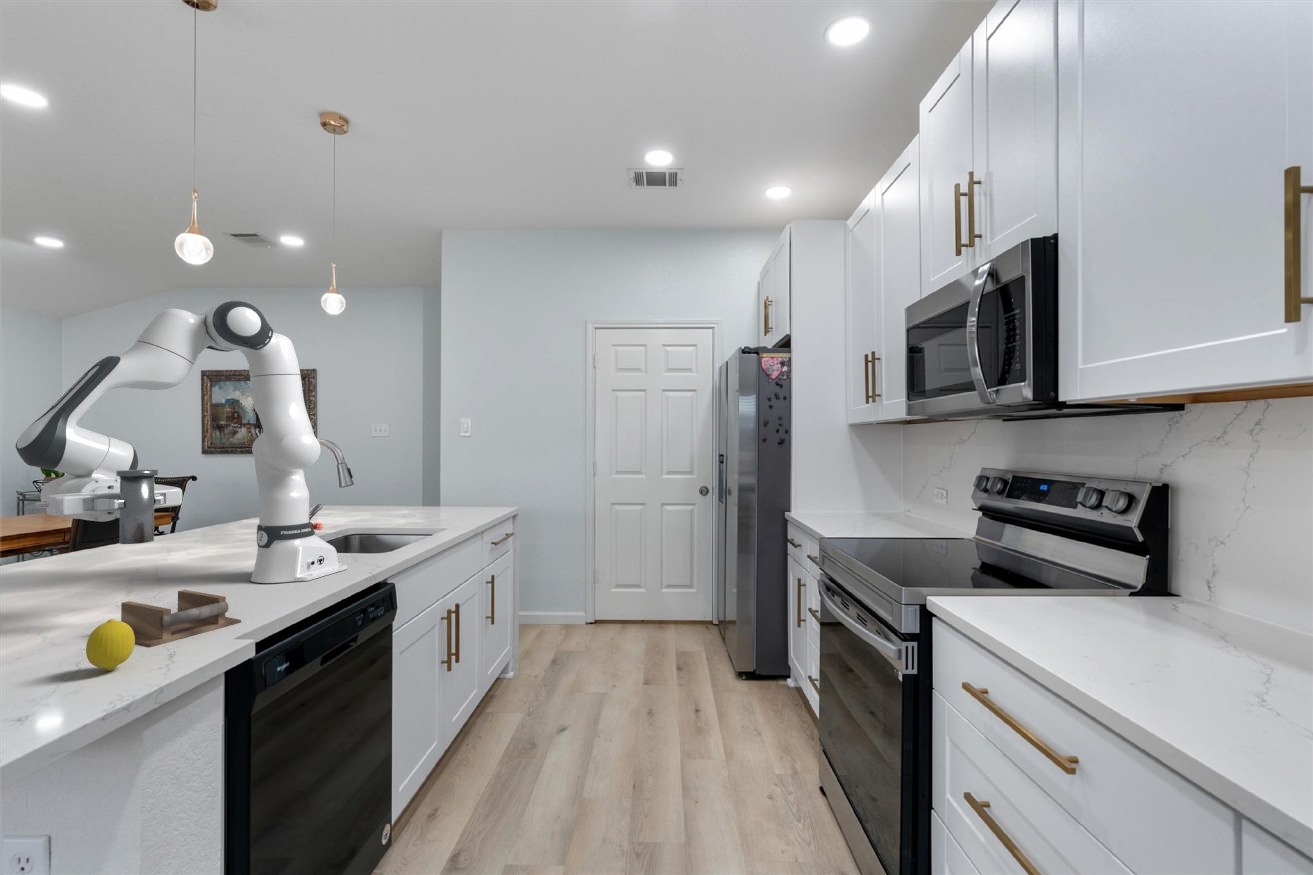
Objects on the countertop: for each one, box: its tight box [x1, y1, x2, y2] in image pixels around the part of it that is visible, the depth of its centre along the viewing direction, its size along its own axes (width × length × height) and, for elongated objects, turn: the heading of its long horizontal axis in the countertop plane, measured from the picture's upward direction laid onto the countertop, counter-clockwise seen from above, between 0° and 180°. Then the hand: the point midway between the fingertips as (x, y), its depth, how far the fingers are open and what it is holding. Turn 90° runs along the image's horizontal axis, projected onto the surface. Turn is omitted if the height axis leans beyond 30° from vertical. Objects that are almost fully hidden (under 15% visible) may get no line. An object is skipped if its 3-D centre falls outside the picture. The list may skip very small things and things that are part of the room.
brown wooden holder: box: [120, 589, 242, 648], centre depth 110 cm, size 15×15×6 cm
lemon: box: [85, 618, 136, 672], centre depth 90 cm, size 6×6×8 cm
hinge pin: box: [116, 469, 159, 545], centre depth 113 cm, size 6×6×14 cm
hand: (140, 502), depth 112 cm, fingers closed on hinge pin, 5 cm apart
